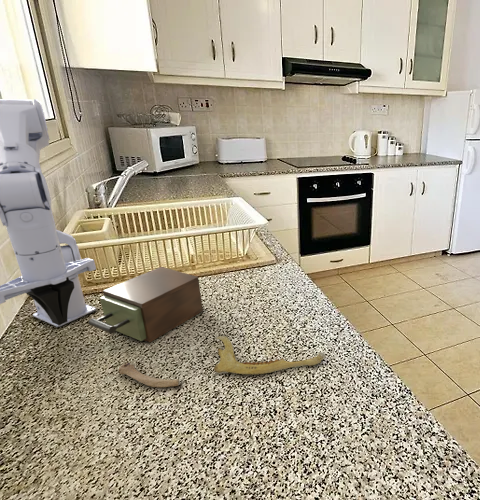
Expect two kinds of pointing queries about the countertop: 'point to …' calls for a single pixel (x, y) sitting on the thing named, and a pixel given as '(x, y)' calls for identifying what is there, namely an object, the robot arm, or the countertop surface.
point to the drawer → (120, 318)
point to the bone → (145, 377)
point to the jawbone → (233, 366)
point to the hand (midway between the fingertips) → (60, 321)
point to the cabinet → (161, 299)
